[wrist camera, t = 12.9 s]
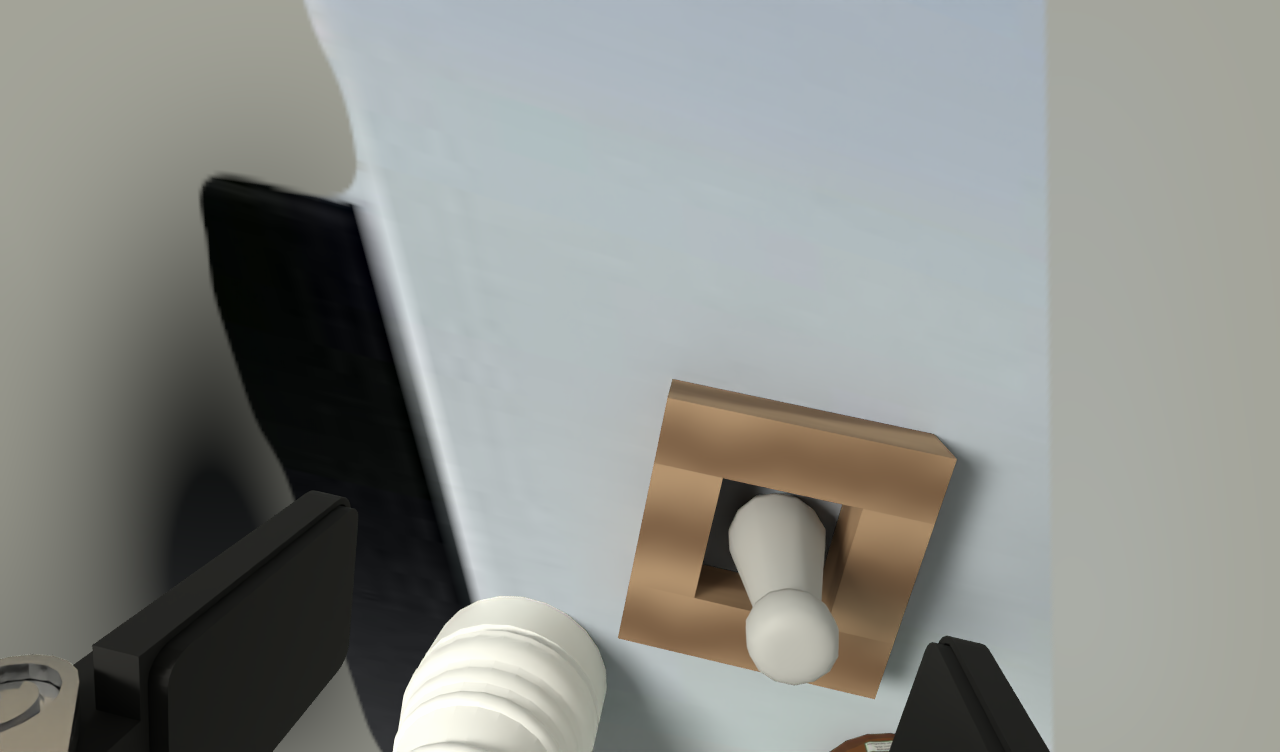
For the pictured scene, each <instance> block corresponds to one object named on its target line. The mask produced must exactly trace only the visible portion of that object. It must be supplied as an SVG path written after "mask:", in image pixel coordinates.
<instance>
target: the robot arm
mask: <svg viewBox="0 0 1280 752" xmlns="http://www.w3.org/2000/svg"><path fill="white" fill-rule="evenodd" d="M357 528H358V513H357V511H356V510H355V509H352V508H350V503H349V500H348V499H347V498H345V497H340V496H336V495H332V494H327V493H323V492H319V491H310V492H308V493H306V494H305V495H303V496H302V497H300V498H299V499H298V500H296V501H295V502H293V503H292V504H290V505H289V506H288V507H286V508H285V509H283V510H282V511H281V512H280V513H278V514H276V515H275V516H274V517H272V518H271V519H270V520H268V521H267V522H265V523H264V524H262V525H261V526H260V527H258V528H257V529H255V530H254V531H253V532H251V533H250V534H248V535H247V536H246V537H244V538H243V539H241V540H240V541H238V542H237V543H236V544H234V545H233V546H231V547H230V548H229V549H227V550H226V551H224V552H223V553H221V554H220V555H219V556H217V557H216V558H215V559H213V560H212V561H210V562H209V563H207V564H206V565H205V566H203V567H202V568H200V569H199V570H198V571H196V572H195V573H193V574H192V575H191V576H189V577H188V578H186V579H185V580H183V581H182V582H181V583H179V584H178V585H176V586H175V587H174V588H172V589H171V590H169V591H168V592H167V593H165V594H164V595H162V596H161V597H160V598H158V599H157V600H155V601H154V602H153V603H151V604H150V605H148V606H147V607H145V608H144V609H143V610H141V611H140V612H138V613H137V614H136V615H134V616H133V617H132V618H130V619H129V620H127V621H126V622H124V623H123V624H122V625H120V626H119V627H117V628H116V629H114V630H113V631H112V632H110V633H109V634H108V635H106V636H105V637H103V638H102V639H101V640H99V641H98V642H96V643H95V644H93V645H92V647H93V651H92V652H91V653H89V654H88V655H87V656H85V657H84V658H82V659H81V660H80V661H78V662H77V663H76V664H74V665H72V664H71V663H70V662H69V661H67V660H64V659H61V658H58V657H55V656H49V655H36V654H30V655H21V656H12V657H6V658H2V659H0V752H273V750H274V749H275V748H276V747H277V745H278V744H279V743H280V742H281V740H282V739H283V738H284V737H285V736H286V734H287V733H288V732H289V731H290V729H291V728H292V727H293V726H294V724H295V723H296V722H297V721H298V720H299V718H300V717H301V716H302V715H303V713H304V712H305V711H306V710H307V708H308V707H309V706H310V705H311V703H312V702H313V701H314V700H315V698H316V697H317V696H318V695H319V693H320V692H321V691H322V690H323V688H324V687H325V686H326V685H327V684H328V683H329V681H330V680H331V679H332V678H333V676H334V675H335V674H336V673H337V671H338V670H339V669H340V667H341V665H342V664H343V661H344V660H345V657H346V655H347V651H348V646H349V636H350V622H351V609H352V595H353V582H354V568H355V555H356V542H357ZM889 752H1050V751H1049V749H1048V748H1047V746H1046V744H1045V743H1044V741H1043V739H1042V738H1041V736H1040V734H1039V733H1038V731H1037V729H1036V728H1035V726H1034V724H1033V723H1032V721H1031V719H1030V718H1029V716H1028V714H1027V713H1026V711H1025V709H1024V707H1023V706H1022V704H1021V702H1020V701H1019V699H1018V697H1017V696H1016V694H1015V692H1014V691H1013V689H1012V687H1011V686H1010V684H1009V682H1008V681H1007V679H1006V677H1005V676H1004V674H1003V672H1002V671H1001V669H1000V667H999V666H998V664H997V662H996V661H995V659H994V657H993V656H992V654H991V652H990V650H989V649H988V648H987V647H986V646H985V645H983V644H980V643H976V642H972V641H967V640H963V639H958V638H954V637H950V636H945V637H943V638H942V639H941V640H940V641H939V643H933V642H932V643H930V644H929V645H928V646H927V648H926V650H925V653H924V655H923V658H922V661H921V664H920V666H919V669H918V672H917V675H916V678H915V680H914V683H913V686H912V689H911V691H910V694H909V697H908V700H907V703H906V705H905V708H904V711H903V714H902V716H901V719H900V722H899V725H898V728H897V730H896V733H895V736H894V739H893V741H892V744H891V747H890V750H889Z"/></svg>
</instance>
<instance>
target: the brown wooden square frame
mask: <svg viewBox="0 0 1280 752" xmlns="http://www.w3.org/2000/svg"><path fill="white" fill-rule="evenodd" d="M956 461H957V459H956V458H955V457H954V456H953V454H952V453H951V452H950V451H949V450H948V449H947V448H946V447H945V446H944V445H943V443H942V442H941V441H940V440H939V439H938V438H937V437H936V436H935V435H934V434H931V433H926V432H921V431H916V430H912V429H907V428H902V427H898V426H893V425H888V424H883V423H879V422H874V421H869V420H864V419H860V418H855V417H850V416H845V415H841V414H836V413H831V412H826V411H822V410H817V409H812V408H807V407H803V406H798V405H793V404H789V403H784V402H779V401H774V400H770V399H765V398H760V397H755V396H751V395H746V394H741V393H736V392H732V391H727V390H722V389H717V388H713V387H708V386H703V385H698V384H694V383H689V382H684V381H680V380H675V379H672V383H671V387H670V391H669V395H668V398H667V403H666V408H665V413H664V418H663V423H662V427H661V432H660V437H659V442H658V447H657V452H656V457H655V461H654V466H653V471H652V476H651V481H650V486H649V490H648V495H647V500H646V505H645V510H644V515H643V519H642V524H641V529H640V534H639V539H638V544H637V548H636V553H635V558H634V563H633V568H632V573H631V577H630V582H629V587H628V592H627V597H626V602H625V607H624V611H623V616H622V621H621V626H620V631H619V636H618V638H619V639H624V640H628V641H632V642H636V643H640V644H645V645H649V646H653V647H657V648H661V649H666V650H670V651H674V652H678V653H682V654H687V655H691V656H695V657H699V658H704V659H708V660H712V661H716V662H720V663H725V664H729V665H733V666H737V667H741V668H746V669H750V670H754V671H758V672H760V671H759V670H758V669H757V667H756V665H755V663H754V662H753V660H752V658H751V657H750V655H749V652H748V649H747V642H746V619H747V617H748V615H749V614H750V612H751V610H752V608H753V606H752V604H751V602H750V599H749V597H748V594H747V592H746V589H745V587H744V584H743V582H742V580H741V577H740V575H739V573H738V572H733V571H729V570H725V569H720V568H716V567H712V566H707V565H703V564H702V563H703V559H704V555H705V551H706V546H707V542H708V538H709V534H710V530H711V526H712V521H713V517H714V513H715V509H716V505H717V500H718V496H719V492H720V488H721V484H722V480H723V478H725V479H729V480H734V481H738V482H743V483H747V484H752V485H757V486H761V487H766V488H770V489H775V490H779V491H784V492H788V493H793V494H798V495H802V496H807V497H811V498H816V499H820V500H825V501H829V502H834V503H839V504H842V508H841V511H840V514H839V518H838V521H837V524H836V528H835V531H834V534H833V538H832V541H831V545H830V548H829V551H828V555H827V558H826V561H825V565H824V568H823V583H822V600H821V601H822V602H823V603H824V604H826V606H827V607H828V609H829V611H830V613H831V614H832V616H833V618H834V619H835V621H836V624H837V626H838V629H839V649H838V658H837V659H836V661H835V663H834V665H833V667H832V668H831V670H830V672H828V673H827V674H825V675H824V676H822V677H820V678H819V679H817V680H816V681H814V682H809V684H813V685H817V686H821V687H826V688H830V689H834V690H838V691H843V692H847V693H851V694H855V695H859V696H864V697H868V698H872V699H875V697H876V694H877V691H878V688H879V685H880V682H881V679H882V676H883V673H884V670H885V668H886V665H887V662H888V659H889V656H890V653H891V650H892V647H893V644H894V641H895V638H896V635H897V633H898V630H899V627H900V624H901V621H902V618H903V615H904V612H905V609H906V606H907V603H908V601H909V598H910V595H911V592H912V589H913V586H914V583H915V580H916V577H917V574H918V571H919V568H920V566H921V563H922V560H923V557H924V554H925V551H926V548H927V545H928V542H929V539H930V536H931V534H932V531H933V528H934V525H935V522H936V519H937V516H938V513H939V510H940V507H941V504H942V501H943V499H944V496H945V493H946V490H947V487H948V484H949V481H950V478H951V475H952V472H953V469H954V467H955V464H956Z"/></svg>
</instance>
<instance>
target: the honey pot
mask: <svg viewBox="0 0 1280 752" xmlns="http://www.w3.org/2000/svg"><path fill="white" fill-rule="evenodd" d="M606 691H607V681H606V668H605V665H604V663H603V660H602V657H601V654H600V652H599V649H598V647H597V646H596V645H595V643H594V642H593V640H592V639H591V637H590V636H589V634H588V633H587V632H586V630H585V629H584V628H582V627H581V626H580V625H579V624H578V623H577V622H576V621H574V620H573V619H572V618H571V617H570V616H569V615H567V614H566V613H564V612H562V611H560V610H558V609H556V608H554V607H552V606H551V605H549V604H547V603H544V602H540V601H536V600H533V599H529V598H525V597H511V596H498V597H493V598H489V599H484V600H479V601H477V602H475V603H473V604H471V605H469V606H467V607H465V608H463V609H461V610H459V611H458V612H457V613H456V614H455V615H454V616H453V617H452V618H451V619H450V620H449V621H448V622H447V623H446V624H445V626H444V627H443V629H442V630H441V632H440V633H439V635H438V636H437V638H436V640H435V641H434V643H433V644H432V646H431V647H430V649H429V650H428V652H427V653H426V655H425V657H424V659H423V660H422V661H421V663H420V665H419V667H418V668H417V669H416V671H415V673H414V674H413V676H412V678H411V680H410V682H409V684H408V686H407V688H406V691H405V694H404V697H403V703H402V710H401V718H400V723H399V729H398V733H397V734H396V737H395V741H394V747H393V752H592V750H593V747H594V743H595V738H596V734H597V729H598V725H599V721H600V717H601V713H602V708H603V704H604V700H605V695H606Z"/></svg>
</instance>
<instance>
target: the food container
mask: <svg viewBox="0 0 1280 752" xmlns="http://www.w3.org/2000/svg"><path fill="white" fill-rule="evenodd" d="M894 736H895V734H892V733H884V734H866V735H863V736H860V737H857V738H853V739H850V740H847V741H845V742H843V743H842V744H840V745H839V746H838V747H836V748H835V749H833V750H832V751H830V752H889V750H890V747H891V744H892V741H893V739H894Z"/></svg>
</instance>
